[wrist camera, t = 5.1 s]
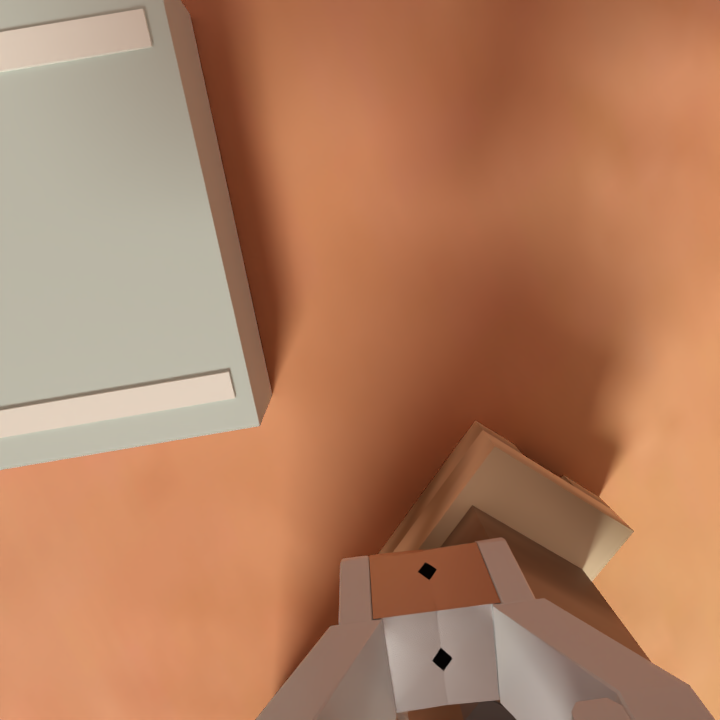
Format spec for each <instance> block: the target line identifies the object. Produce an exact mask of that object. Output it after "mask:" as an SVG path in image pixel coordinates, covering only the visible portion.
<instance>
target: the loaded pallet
mask: <svg viewBox="0 0 720 720" xmlns="http://www.w3.org/2000/svg"><path fill="white" fill-rule="evenodd" d="M633 532H634V531H633V530H632V529H631V528H630V527H629V526H628V525H627V524H626V523H625V522H624V521H623V520H622V519H621V518H620V517H619V516H618V515H617V514H616V513H615V512H614V511H613V510H612V509H611V508H610V507H609V506H608V505H607V504H606V503H605V502H604V501H603V500H602V499H601V498H600V497H598V496H597V495H595V494H594V493H592V492H590V491H589V490H587V489H585V488H584V487H582V486H581V485H579V484H577V483H576V482H574V481H573V480H571V479H569V478H568V477H566V476H564V475H563V476H562V477H561V478H560V477H558V476H557V475H555V474H553V473H552V472H550V471H548V470H547V469H545V468H544V467H542V466H540V465H539V464H537V463H535V462H534V461H532V460H531V459H529V458H527V457H526V456H524V455H523V454H522V453H521V452H520V451H519V450H518V448H517V447H516V446H515V445H514V444H513V443H511V442H510V441H508V440H506V439H505V438H503V437H502V436H500V435H498V434H497V433H495V432H493V431H492V430H490V429H489V428H487V427H485V426H484V425H482V424H481V423H479V422H477V421H476V420H475V421H474V423H473V424H472V426H471V427H470V428H469V430H468V431H467V432H466V434H465V435H464V437H463V438H462V439H461V441H460V442H459V443H458V445H457V446H456V448H455V449H454V450H453V452H452V453H451V454H450V456H449V457H448V459H447V460H446V461H445V463H444V464H443V465H442V467H441V468H440V470H439V471H438V472H437V474H436V475H435V476H434V478H433V479H432V481H431V482H430V483H429V485H428V486H427V487H426V489H425V490H424V491H423V493H422V494H421V496H420V497H419V498H418V500H417V501H416V502H415V504H414V505H413V507H412V508H411V509H410V511H409V512H408V513H407V515H406V516H405V518H404V519H403V520H402V522H401V523H400V524H399V526H398V527H397V529H396V530H395V531H394V533H393V534H392V535H391V537H390V538H389V540H388V541H387V542H386V544H385V545H384V546H383V548H382V549H381V551H380V552H379V553H378V554H383V553H392V552H402V551H411V550H420V549H422V550H425V549H432V548H439V547H446V546H453V545H460V544H467V543H475V541H481V540H487V539H493V538H499V537H502V538H504V539H505V540H506V542H507V544H508V546H509V548H510V550H511V552H512V554H513V556H514V557H515V559H516V561H517V563H518V565H519V567H520V569H521V571H522V573H523V575H524V577H525V579H526V581H527V583H528V585H529V587H530V589H531V591H532V593H533V595H534V596H535V598H536V599H541V598H545V599H547V600H548V601H550V602H552V603H553V604H555V605H557V606H558V607H560V608H562V609H563V610H565V611H567V612H568V613H570V614H572V615H573V616H575V617H577V618H578V619H580V620H582V621H583V622H585V623H587V624H588V625H590V626H592V627H593V628H595V629H597V630H598V631H600V632H602V633H603V634H605V635H607V636H608V637H610V638H612V639H613V640H615V641H617V642H618V643H620V644H622V645H623V646H625V647H627V648H628V649H630V650H632V651H633V652H635V653H637V654H638V655H640V656H642V657H643V658H645V659H647V660H648V661H650V660H649V658H648V657H647V656H646V654H645V653H644V652H643V650H642V649H641V648H640V646H639V645H638V643H637V642H636V641H635V639H634V638H633V637H632V635H631V634H630V633H629V631H628V630H627V629H626V627H625V626H624V625H623V623H622V622H621V621H620V619H619V618H618V617H617V615H616V614H615V612H614V611H613V610H612V608H611V607H610V606H609V604H608V603H607V602H606V600H605V599H604V598H603V596H602V595H601V594H600V592H599V591H598V590H597V588H596V587H595V585H594V584H593V583H592V581H593V580H594V578H595V577H596V576H597V575H598V574H599V572H600V571H601V570H602V569H603V568H604V567H605V565H606V564H607V563H608V562H609V561H610V559H611V558H612V557H613V556H614V555H615V553H616V552H617V551H618V550H619V549H620V547H621V546H622V545H623V544H624V543H625V542H626V540H627V539H628V538H629V537H630V536H631V534H632V533H633ZM650 662H651V661H650ZM407 712H408V719H409V720H516V719H515V717H514V716H513V715H512V714H511V713H510V712H509V711H508V710H507V709H506V708H505V707H504V706H503V705H502V704H501V703H500V700H494V701H483V702H473V703H462V704H452V705H448V704H447V705H443V706H437V707H431V708H425V709H419V710H412V711H407Z"/></svg>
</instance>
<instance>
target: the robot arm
mask: <svg viewBox="0 0 720 720" xmlns="http://www.w3.org/2000/svg"><path fill="white" fill-rule="evenodd" d="M494 700H500V703H501V704H502V705H503V706H504V707H505V708H506V709H507V710H508V711H509V712H510V713H511V714H512V715H513V716H514V717H515V719H516V720H715V719H714V718H713V716H712V715H711V714H710V712H709V711H708V710H707V708H706V707H705V705H704V704H703V703H702V701H701V700H700V699H699V697H698V696H697V695H696V693H695V692H694V691H693V689H692V688H691V687H690V685H688V684H686V683H685V682H683V681H681V680H680V679H678V678H676V677H675V676H673V675H671V674H670V673H668V672H667V671H665V670H663V669H662V668H660V667H658V666H657V665H655V664H653V663H652V662H650V661H648V660H647V659H645V658H643V657H642V656H640V655H638V654H637V653H635V652H633V651H632V650H630V649H628V648H627V647H625V646H623V645H622V644H620V643H618V642H617V641H615V640H613V639H612V638H610V637H608V636H607V635H605V634H603V633H602V632H600V631H598V630H597V629H595V628H593V627H592V626H590V625H588V624H587V623H585V622H583V621H582V620H580V619H578V618H577V617H575V616H573V615H572V614H570V613H568V612H567V611H565V610H563V609H562V608H560V607H558V606H557V605H555V604H553V603H552V602H550V601H548V600H547V599H545V598H541V599H536V598H535V596H534V595H533V593H532V591H531V589H530V587H529V585H528V583H527V581H526V579H525V577H524V575H523V573H522V571H521V569H520V567H519V565H518V563H517V561H516V559H515V557H514V556H513V554H512V552H511V550H510V548H509V546H508V544H507V542H506V540H505V539H504V538H502V537H499V538H493V539H487V540H481V541H475V543H467V544H460V545H453V546H446V547H439V548H432V549H425V550H422V549H420V550H411V551H402V552H392V553H383V554H374V555H369V556H367V555H366V556H358V557H350V558H342V560H341V563H340V589H339V625H333V626H330V627H329V628H328V629H327V631H326V632H325V633H324V634H323V636H322V637H321V638H320V639H319V641H318V642H317V643H316V644H315V646H314V647H313V648H312V649H311V651H310V652H309V653H308V654H307V656H306V657H305V658H304V659H303V661H302V662H301V663H300V664H299V666H298V667H297V668H296V669H295V671H294V672H293V673H292V674H291V676H290V677H289V678H288V679H287V681H286V682H285V683H284V684H283V686H282V687H281V688H280V689H279V691H278V692H277V693H276V694H275V696H274V697H273V698H272V699H271V701H270V702H269V703H268V704H267V706H266V707H265V708H264V709H263V710H262V712H261V713H260V714H259V715H258V717H257V718H256V719H255V720H395V719H396V717H397V716H396V713H400V712H406V711H412V710H419V709H425V708H431V707H437V706H443V705H447V704H448V705H452V704H462V703H473V702H483V701H494Z"/></svg>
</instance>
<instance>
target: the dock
mask: <svg viewBox="0 0 720 720" xmlns="http://www.w3.org/2000/svg"><path fill="white" fill-rule="evenodd" d="M271 397H272V391H271V386H270V381H269V377H268V372H267V368H266V363H265V358H264V354H263V349H262V344H261V340H260V335H259V331H258V326H257V321H256V317H255V312H254V308H253V303H252V298H251V294H250V289H249V284H248V280H247V275H246V271H245V266H244V261H243V257H242V252H241V248H240V243H239V238H238V234H237V229H236V224H235V220H234V215H233V211H232V206H231V201H230V197H229V192H228V187H227V183H226V178H225V174H224V169H223V164H222V160H221V155H220V151H219V146H218V141H217V137H216V132H215V127H214V123H213V118H212V114H211V109H210V104H209V100H208V95H207V91H206V86H205V81H204V77H203V72H202V67H201V63H200V58H199V54H198V49H197V44H196V40H195V35H194V30H193V26H192V21H191V17H190V14H189V12H188V11H187V9H186V8H185V6H184V5H183V3H182V1H181V0H0V470H3V469H9V468H15V467H21V466H26V465H32V464H38V463H44V462H50V461H56V460H62V459H68V458H74V457H80V456H86V455H91V454H97V453H103V452H109V451H115V450H121V449H127V448H133V447H139V446H145V445H150V444H156V443H162V442H168V441H174V440H180V439H186V438H192V437H198V436H204V435H210V434H215V433H221V432H227V431H233V430H239V429H245V428H251V427H257V426H260V424H261V422H262V419H263V417H264V414H265V412H266V409H267V407H268V404H269V402H270V399H271Z"/></svg>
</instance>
